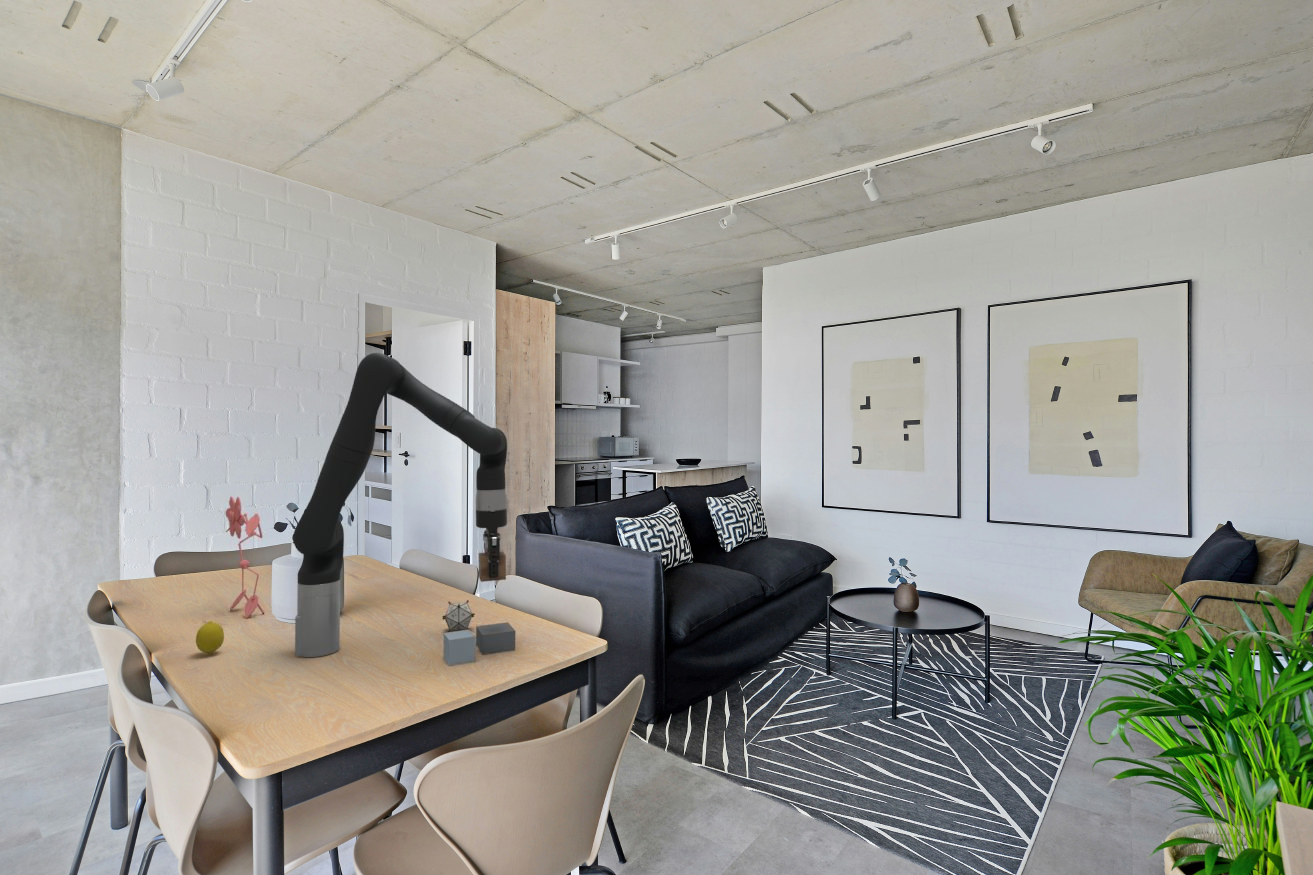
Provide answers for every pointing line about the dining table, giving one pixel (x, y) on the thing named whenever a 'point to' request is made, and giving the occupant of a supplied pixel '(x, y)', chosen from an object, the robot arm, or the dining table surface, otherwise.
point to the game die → (458, 616)
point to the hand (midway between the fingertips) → (492, 574)
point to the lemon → (209, 637)
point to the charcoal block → (495, 638)
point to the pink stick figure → (235, 526)
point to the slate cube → (459, 647)
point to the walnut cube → (485, 567)
